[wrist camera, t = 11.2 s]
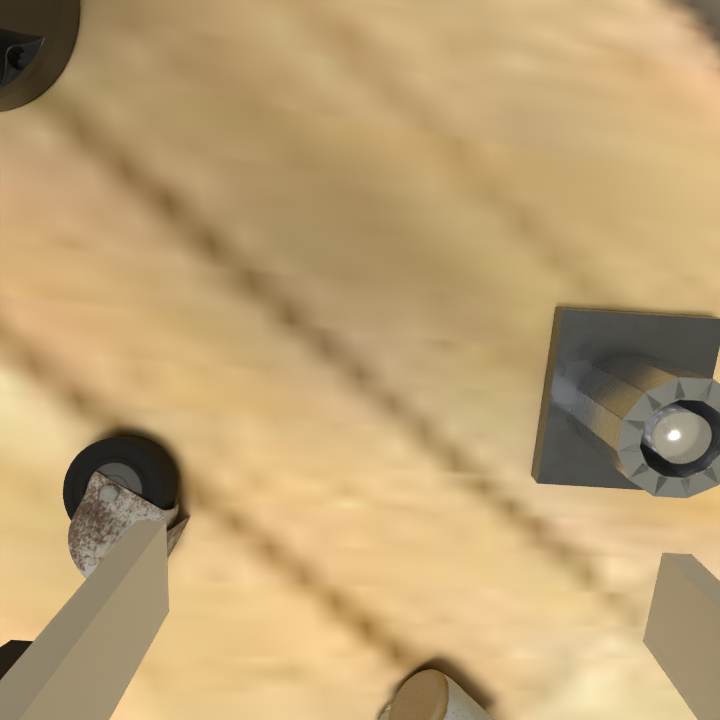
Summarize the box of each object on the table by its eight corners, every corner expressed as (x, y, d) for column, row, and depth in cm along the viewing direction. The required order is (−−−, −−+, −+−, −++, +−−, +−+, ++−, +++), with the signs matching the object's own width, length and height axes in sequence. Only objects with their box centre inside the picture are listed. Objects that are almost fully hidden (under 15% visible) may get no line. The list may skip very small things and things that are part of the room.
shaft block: (555, 307, 38) (607, 323, 30) (711, 316, 38) (807, 335, 30) (531, 474, 41) (572, 532, 33) (675, 483, 41) (753, 543, 33)
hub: (582, 351, 37) (630, 374, 30) (689, 357, 37) (761, 382, 30) (566, 450, 39) (608, 493, 32) (668, 456, 39) (731, 500, 32)
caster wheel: (124, 415, 43) (222, 471, 43) (62, 528, 43) (158, 586, 43) (77, 422, 37) (192, 489, 36) (3, 555, 37) (117, 625, 36)
